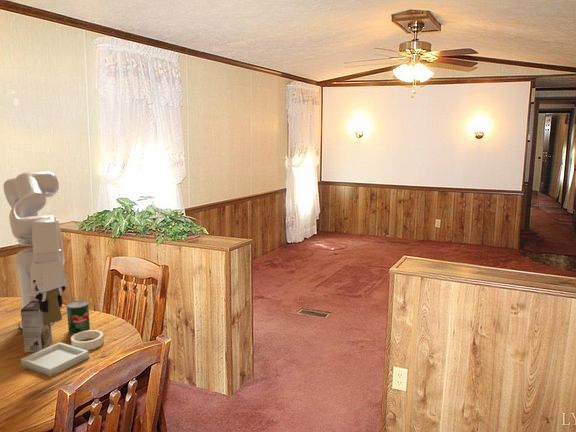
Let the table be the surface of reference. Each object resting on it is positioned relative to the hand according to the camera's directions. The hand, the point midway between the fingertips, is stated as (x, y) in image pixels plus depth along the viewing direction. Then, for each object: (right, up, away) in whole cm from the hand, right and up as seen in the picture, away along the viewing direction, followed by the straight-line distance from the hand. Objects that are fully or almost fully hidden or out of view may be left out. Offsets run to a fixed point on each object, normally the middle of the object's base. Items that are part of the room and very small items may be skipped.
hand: (51, 308), depth 162 cm
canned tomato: (-3, -14, +29) cm, 33 cm away
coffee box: (-12, -17, +15) cm, 26 cm away
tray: (0, -19, +3) cm, 19 cm away
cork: (0, -4, +1) cm, 4 cm away
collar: (+5, -16, +17) cm, 24 cm away
